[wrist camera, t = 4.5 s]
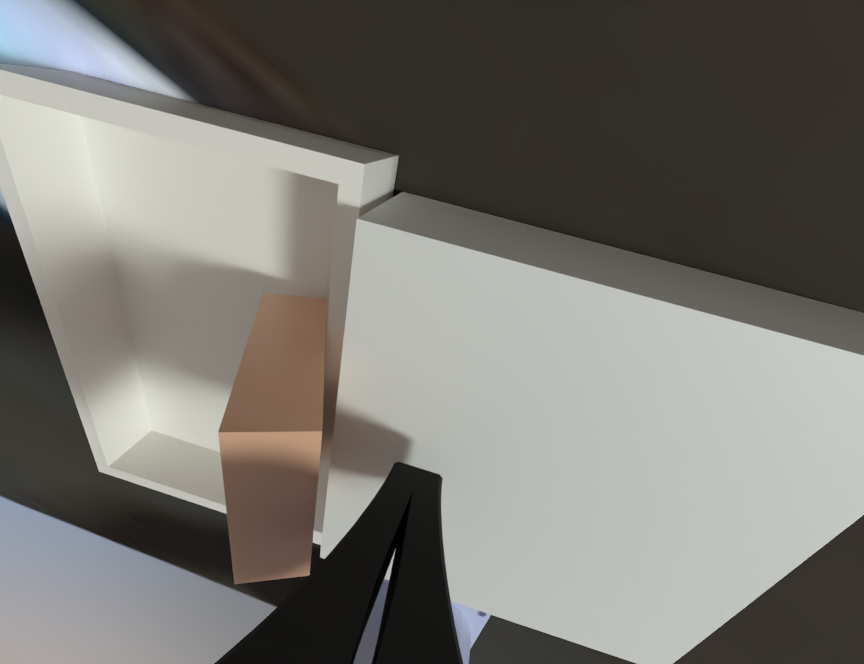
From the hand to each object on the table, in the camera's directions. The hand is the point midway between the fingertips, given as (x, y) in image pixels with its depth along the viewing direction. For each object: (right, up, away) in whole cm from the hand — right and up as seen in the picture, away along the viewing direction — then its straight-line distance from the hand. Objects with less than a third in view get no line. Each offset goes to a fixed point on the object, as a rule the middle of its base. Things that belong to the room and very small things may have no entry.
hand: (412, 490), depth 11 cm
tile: (-3, +2, +1) cm, 4 cm away
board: (+5, +1, +4) cm, 6 cm away
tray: (-7, +5, +5) cm, 10 cm away
